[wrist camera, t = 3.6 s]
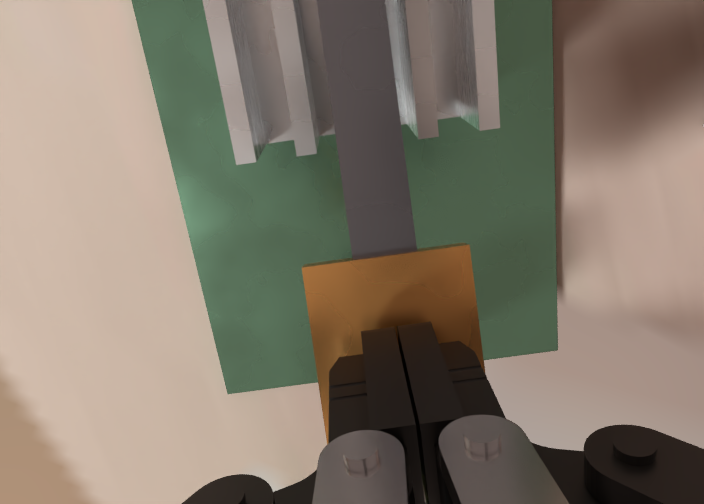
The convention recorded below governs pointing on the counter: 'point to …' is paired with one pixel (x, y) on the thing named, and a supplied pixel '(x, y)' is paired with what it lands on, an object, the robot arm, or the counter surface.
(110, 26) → the counter surface
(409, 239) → the grey and orange bar
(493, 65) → the heatsink board
